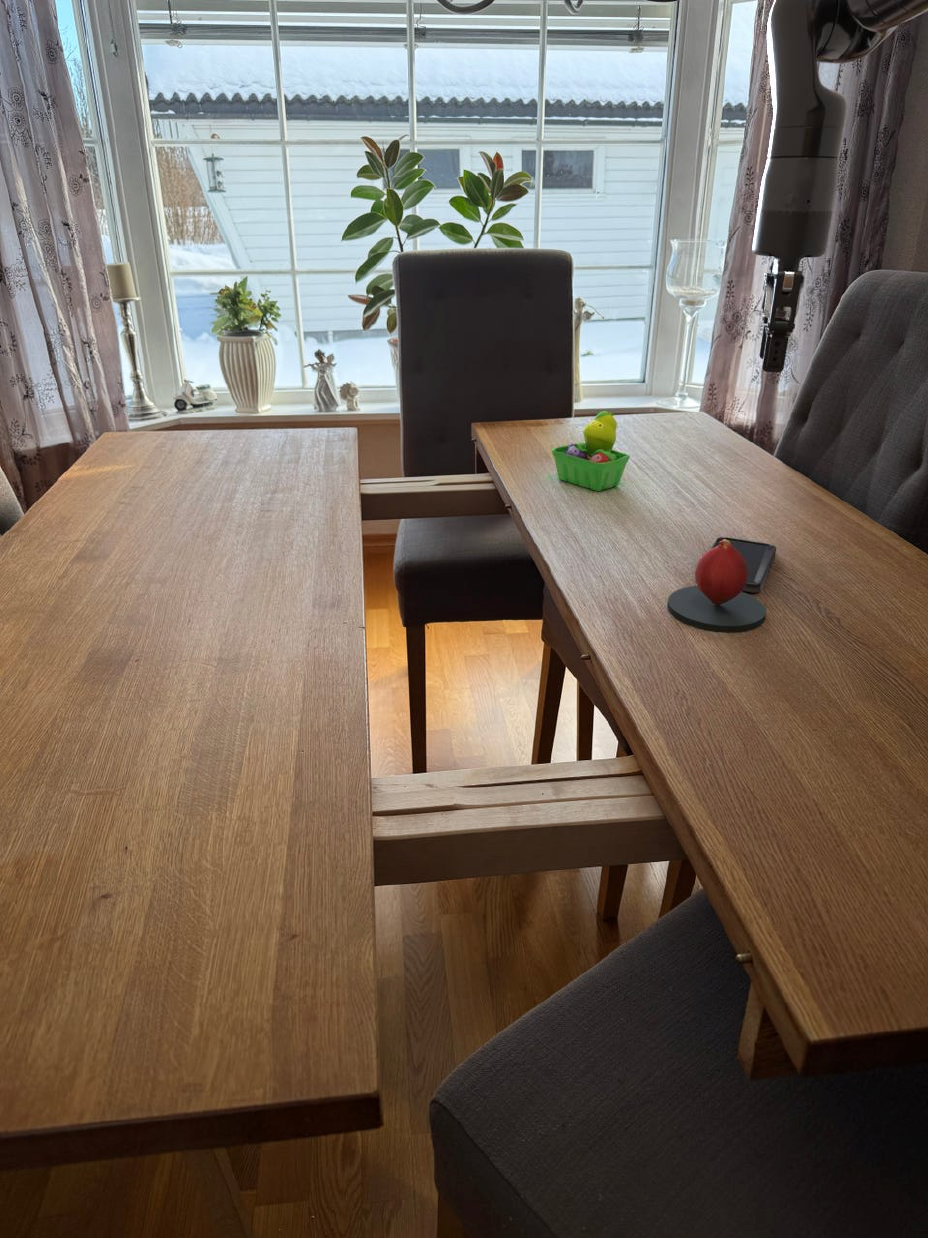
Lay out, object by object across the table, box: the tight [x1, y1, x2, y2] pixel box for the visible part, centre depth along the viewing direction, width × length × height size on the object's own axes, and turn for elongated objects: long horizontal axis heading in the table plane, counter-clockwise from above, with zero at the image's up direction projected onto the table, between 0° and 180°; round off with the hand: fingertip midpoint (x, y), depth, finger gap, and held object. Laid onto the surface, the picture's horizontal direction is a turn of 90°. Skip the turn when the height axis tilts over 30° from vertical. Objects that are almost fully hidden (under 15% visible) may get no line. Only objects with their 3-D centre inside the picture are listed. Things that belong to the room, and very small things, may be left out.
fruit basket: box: [551, 410, 631, 492], centre depth 145 cm, size 11×9×11 cm
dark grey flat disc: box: [666, 585, 767, 633], centre depth 102 cm, size 11×11×1 cm
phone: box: [710, 536, 777, 594], centre depth 114 cm, size 8×1×15 cm
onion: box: [694, 540, 748, 605], centre depth 100 cm, size 6×6×8 cm
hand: (770, 364), depth 100 cm, fingers open, 8 cm apart
